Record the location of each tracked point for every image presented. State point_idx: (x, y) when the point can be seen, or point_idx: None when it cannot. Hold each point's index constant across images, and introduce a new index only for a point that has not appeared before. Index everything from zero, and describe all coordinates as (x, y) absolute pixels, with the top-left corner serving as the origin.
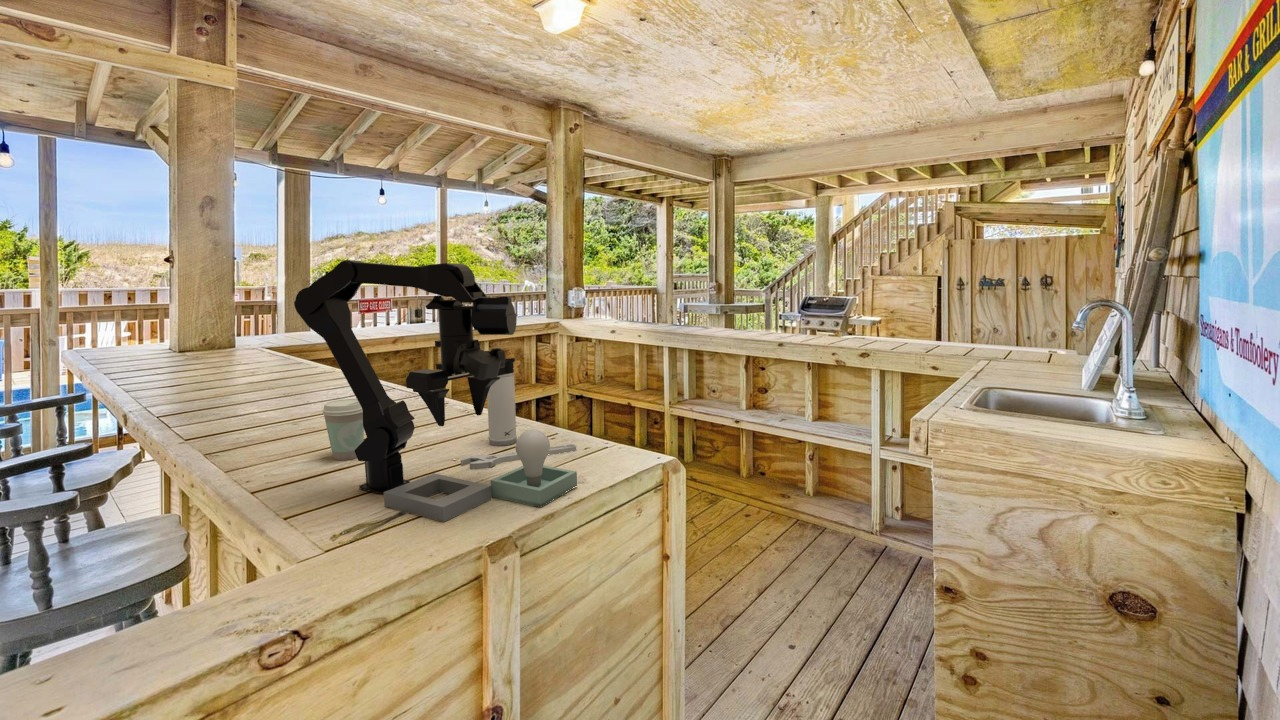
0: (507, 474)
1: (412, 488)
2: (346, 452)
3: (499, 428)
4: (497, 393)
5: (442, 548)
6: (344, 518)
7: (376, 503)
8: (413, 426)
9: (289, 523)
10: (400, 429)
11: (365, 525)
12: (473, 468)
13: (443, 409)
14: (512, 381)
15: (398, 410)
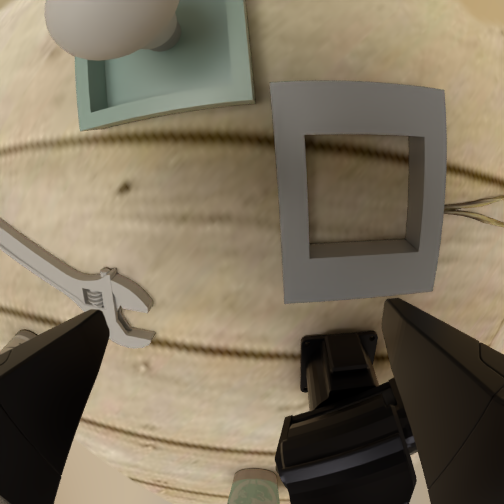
0: (184, 96)
1: (393, 257)
2: (268, 480)
3: None
4: None
5: (483, 27)
6: (475, 285)
7: (412, 301)
8: (287, 448)
9: (498, 330)
10: (370, 434)
11: (495, 221)
12: (148, 296)
13: (451, 345)
14: None
15: (351, 498)
